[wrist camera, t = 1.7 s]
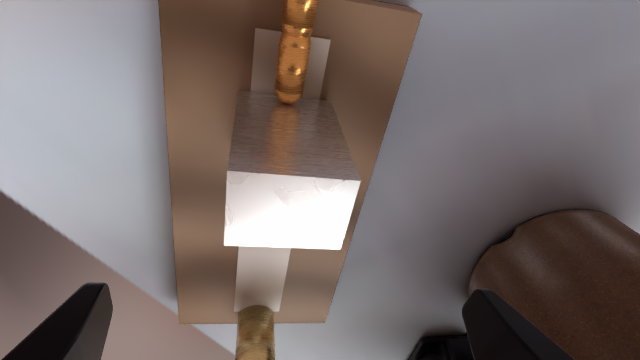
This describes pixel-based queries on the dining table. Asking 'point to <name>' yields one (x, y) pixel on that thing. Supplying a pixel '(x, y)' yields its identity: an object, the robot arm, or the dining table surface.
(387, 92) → the board
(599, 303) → the plant pot
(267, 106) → the grey metal piece
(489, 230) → the dining table surface
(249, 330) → the keeper hook
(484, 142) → the dining table surface
